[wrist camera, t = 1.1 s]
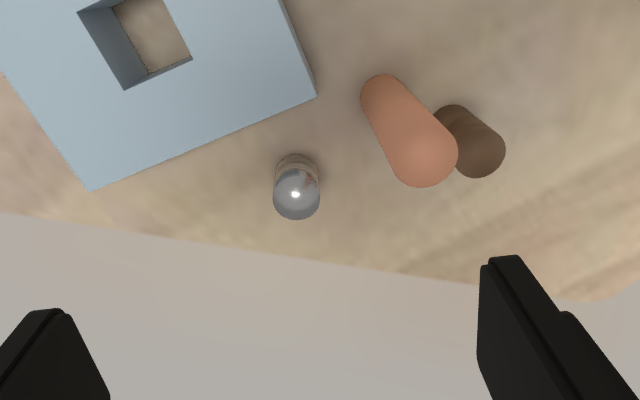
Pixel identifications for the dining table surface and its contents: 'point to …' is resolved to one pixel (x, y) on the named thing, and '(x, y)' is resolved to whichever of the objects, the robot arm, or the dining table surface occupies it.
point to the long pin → (408, 133)
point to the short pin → (296, 187)
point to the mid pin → (472, 141)
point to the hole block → (148, 79)
